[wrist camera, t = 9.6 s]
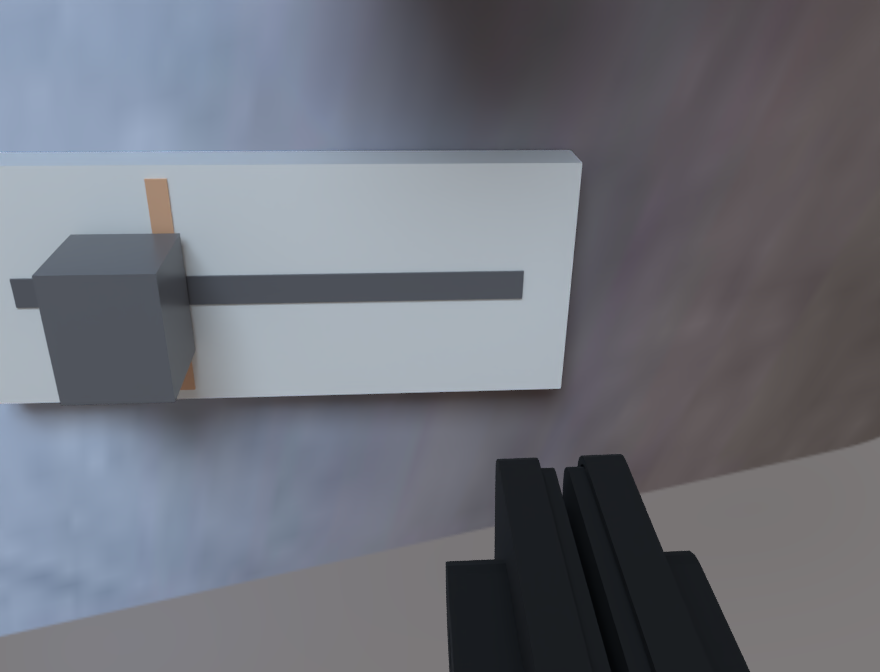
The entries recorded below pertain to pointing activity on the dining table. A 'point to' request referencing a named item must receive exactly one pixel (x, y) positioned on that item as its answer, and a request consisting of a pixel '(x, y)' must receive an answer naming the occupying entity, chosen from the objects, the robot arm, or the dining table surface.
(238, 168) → the console
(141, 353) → the fader knob
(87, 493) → the dining table surface
